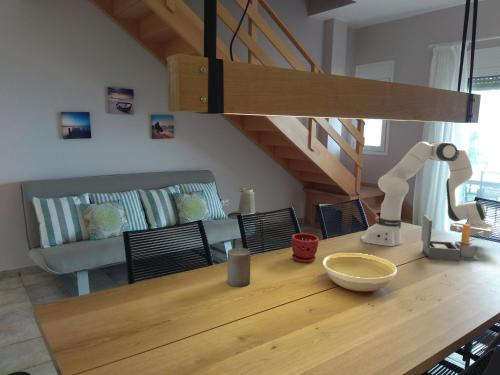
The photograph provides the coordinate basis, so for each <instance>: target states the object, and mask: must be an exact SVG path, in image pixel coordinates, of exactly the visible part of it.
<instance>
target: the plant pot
mask: <svg viewBox="0 0 500 375" xmlns="http://www.w3.org/2000/svg"><path fill="white" fill-rule="evenodd" d="M319 241H320V240H319V237H318V236H316V235H313V234H310V233H294V234H293V235H292V236H291V248H292V254H291V257H292V259H293V260H294V261H296V262H297V263H298V262H299V263H303V264H304V263H305V264H306V263H312V262H314V261H315V260H316V256H315V255H316V254H317V252H318V248H319Z"/></svg>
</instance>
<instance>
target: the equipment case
mask: <svg viewBox="0 0 500 375" xmlns="http://www.w3.org/2000/svg"><path fill="white" fill-rule="evenodd" d="M421 227H422V228H421V240H420V241H421V242H422V252H423V254H425V256H426V258H427V259H428V260H434V261H435V260H436V261H447V262H448V261H449V262H459V261H460V259H459V252H460V250H459V249H458V248H457V247H456V246H455V243H453V241H441V240H431V238H432V227H433V220H432V219H431V218H430V217H429V216H428V215H427V214H423V215H422V225H421Z"/></svg>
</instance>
